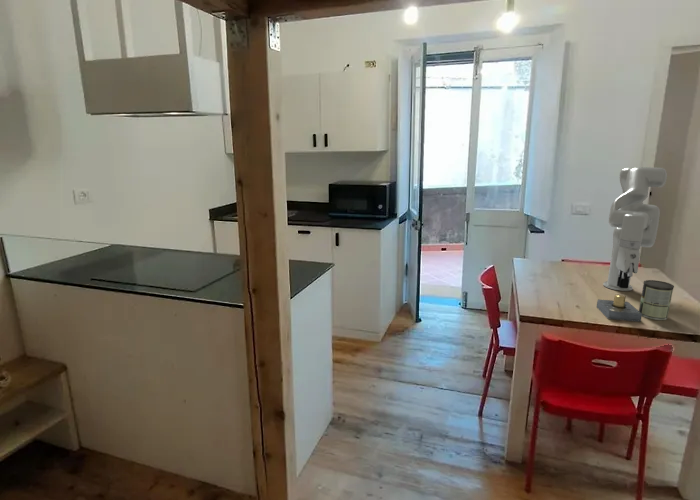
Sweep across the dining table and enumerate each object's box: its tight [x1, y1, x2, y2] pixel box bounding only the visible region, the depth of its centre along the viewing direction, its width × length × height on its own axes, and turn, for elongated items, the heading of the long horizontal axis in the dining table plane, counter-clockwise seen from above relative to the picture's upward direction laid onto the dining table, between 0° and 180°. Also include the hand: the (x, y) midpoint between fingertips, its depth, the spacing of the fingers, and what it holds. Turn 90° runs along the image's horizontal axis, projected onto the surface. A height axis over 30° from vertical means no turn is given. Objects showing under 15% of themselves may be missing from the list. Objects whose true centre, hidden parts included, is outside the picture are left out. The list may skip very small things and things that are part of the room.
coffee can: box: [638, 279, 675, 321], centre depth 177 cm, size 10×10×14 cm
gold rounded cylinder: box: [613, 294, 627, 309], centre depth 179 cm, size 4×4×8 cm
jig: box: [596, 299, 643, 323], centre depth 180 cm, size 14×12×4 cm
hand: (622, 286), depth 177 cm, fingers closed
